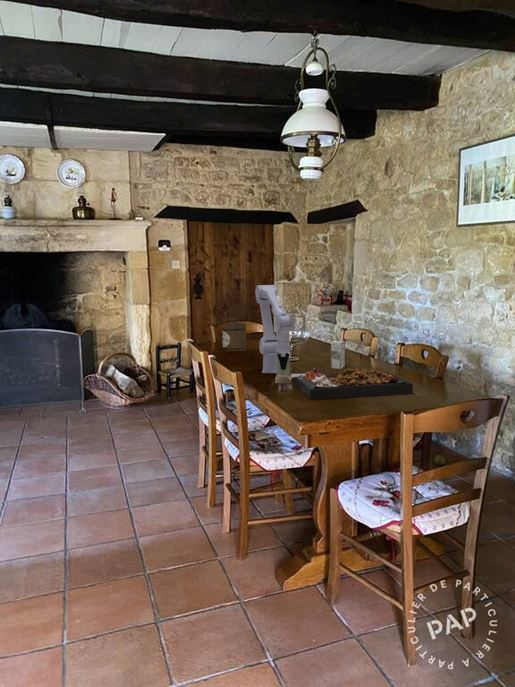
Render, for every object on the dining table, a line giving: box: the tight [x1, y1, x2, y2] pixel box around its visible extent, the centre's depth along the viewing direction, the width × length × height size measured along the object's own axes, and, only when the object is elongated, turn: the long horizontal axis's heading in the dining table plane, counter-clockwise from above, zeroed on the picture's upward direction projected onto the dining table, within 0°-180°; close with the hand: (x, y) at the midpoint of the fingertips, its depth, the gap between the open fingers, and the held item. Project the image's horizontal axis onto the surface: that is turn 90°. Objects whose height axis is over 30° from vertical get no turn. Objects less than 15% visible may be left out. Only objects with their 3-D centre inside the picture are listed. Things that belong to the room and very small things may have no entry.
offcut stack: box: [274, 376, 291, 384], centre depth 232 cm, size 2×7×3 cm, turn 87°
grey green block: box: [276, 357, 291, 375], centre depth 238 cm, size 2×6×8 cm, turn 86°
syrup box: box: [330, 339, 346, 370], centre depth 263 cm, size 6×6×14 cm
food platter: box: [293, 367, 414, 401], centre depth 218 cm, size 45×25×10 cm, turn 101°
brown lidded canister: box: [221, 317, 247, 351], centre depth 311 cm, size 15×15×22 cm
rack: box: [274, 374, 292, 381], centre depth 239 cm, size 5×8×2 cm, turn 86°
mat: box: [290, 373, 306, 379], centre depth 245 cm, size 8×8×1 cm
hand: (283, 369), depth 238 cm, fingers closed on grey green block, 2 cm apart
